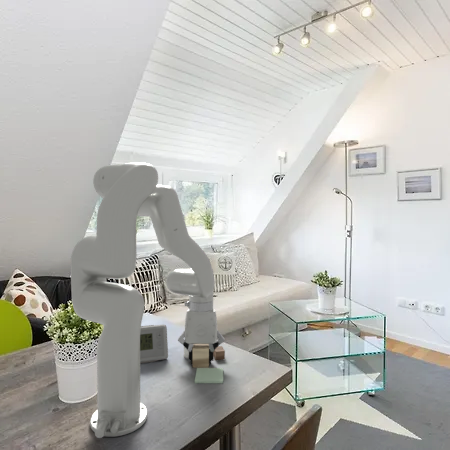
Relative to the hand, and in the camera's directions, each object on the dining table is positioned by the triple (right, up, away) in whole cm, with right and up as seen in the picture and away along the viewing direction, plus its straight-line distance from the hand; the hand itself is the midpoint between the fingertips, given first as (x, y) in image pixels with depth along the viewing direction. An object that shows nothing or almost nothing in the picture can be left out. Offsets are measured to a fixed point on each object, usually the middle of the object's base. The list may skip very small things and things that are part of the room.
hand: (201, 361), depth 109 cm
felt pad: (+3, -1, -8) cm, 9 cm away
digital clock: (-19, -1, +3) cm, 19 cm away
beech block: (0, -1, 0) cm, 1 cm away
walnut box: (+6, -1, +5) cm, 7 cm away
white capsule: (-4, 0, +6) cm, 7 cm away
